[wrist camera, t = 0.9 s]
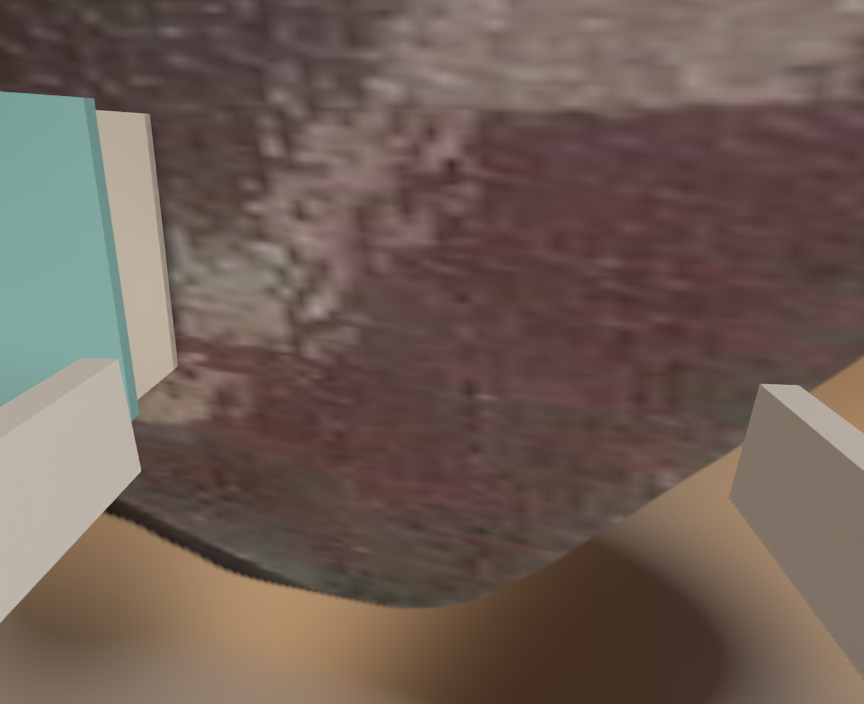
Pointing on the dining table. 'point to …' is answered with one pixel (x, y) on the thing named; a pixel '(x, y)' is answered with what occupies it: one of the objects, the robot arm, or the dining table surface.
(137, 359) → the tub
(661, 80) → the dining table surface
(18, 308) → the lid
